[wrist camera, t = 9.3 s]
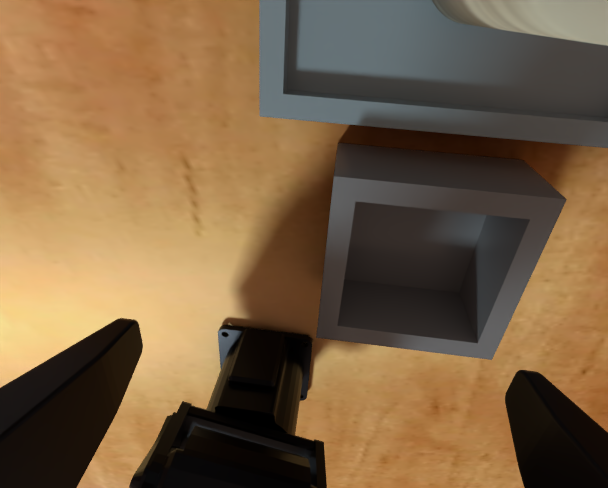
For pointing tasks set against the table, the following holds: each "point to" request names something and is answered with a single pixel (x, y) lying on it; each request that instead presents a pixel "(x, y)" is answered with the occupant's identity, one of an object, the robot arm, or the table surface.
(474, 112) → the tray
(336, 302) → the grey square bin
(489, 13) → the dowel
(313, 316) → the table surface
